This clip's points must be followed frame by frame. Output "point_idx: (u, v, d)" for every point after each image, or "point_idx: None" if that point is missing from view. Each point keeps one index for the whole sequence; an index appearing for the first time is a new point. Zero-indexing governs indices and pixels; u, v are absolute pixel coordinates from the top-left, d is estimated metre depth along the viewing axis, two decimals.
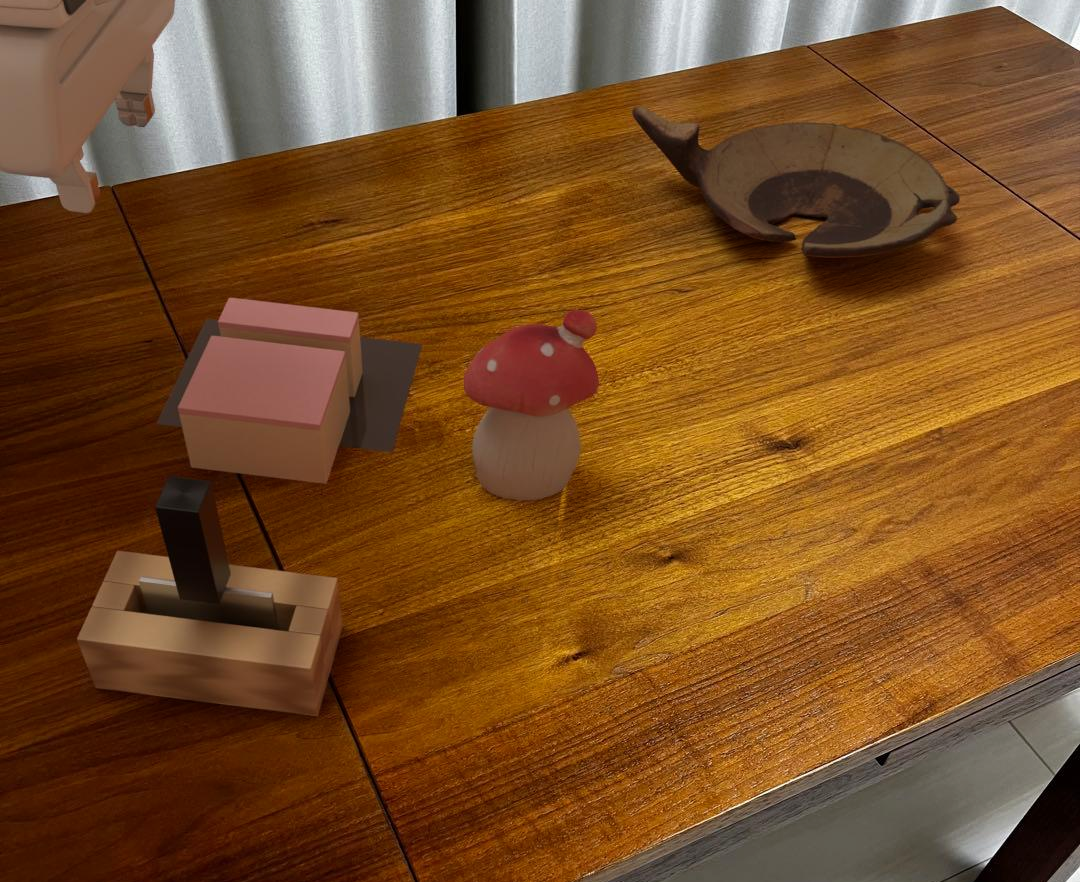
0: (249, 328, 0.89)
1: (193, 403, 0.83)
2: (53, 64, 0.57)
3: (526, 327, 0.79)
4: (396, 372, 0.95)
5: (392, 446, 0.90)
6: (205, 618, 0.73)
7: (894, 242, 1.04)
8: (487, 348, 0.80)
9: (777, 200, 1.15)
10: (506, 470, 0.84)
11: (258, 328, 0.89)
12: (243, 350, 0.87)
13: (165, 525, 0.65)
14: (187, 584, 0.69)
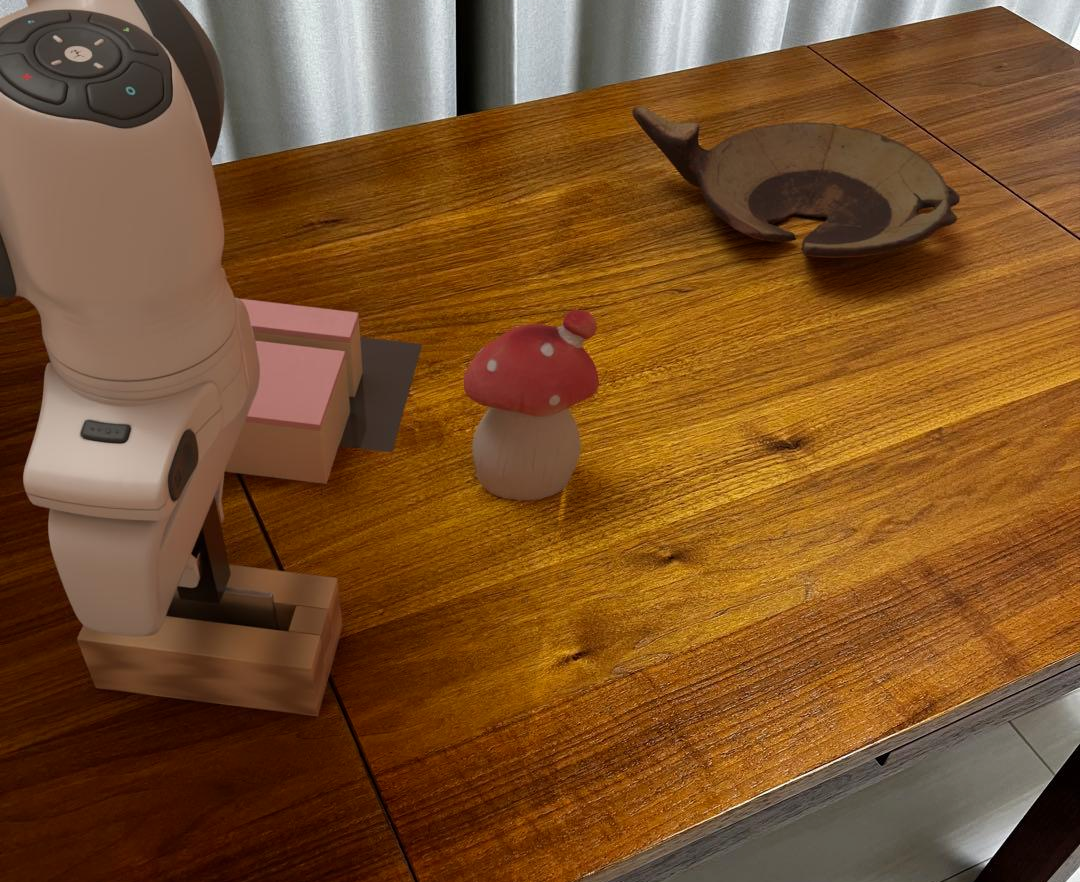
0: None
1: None
2: (156, 549, 0.55)
3: (526, 327, 0.79)
4: (396, 372, 0.95)
5: (392, 446, 0.90)
6: (205, 618, 0.73)
7: (894, 242, 1.04)
8: (487, 348, 0.80)
9: (777, 200, 1.15)
10: (506, 470, 0.84)
11: (258, 328, 0.89)
12: None
13: None
14: None
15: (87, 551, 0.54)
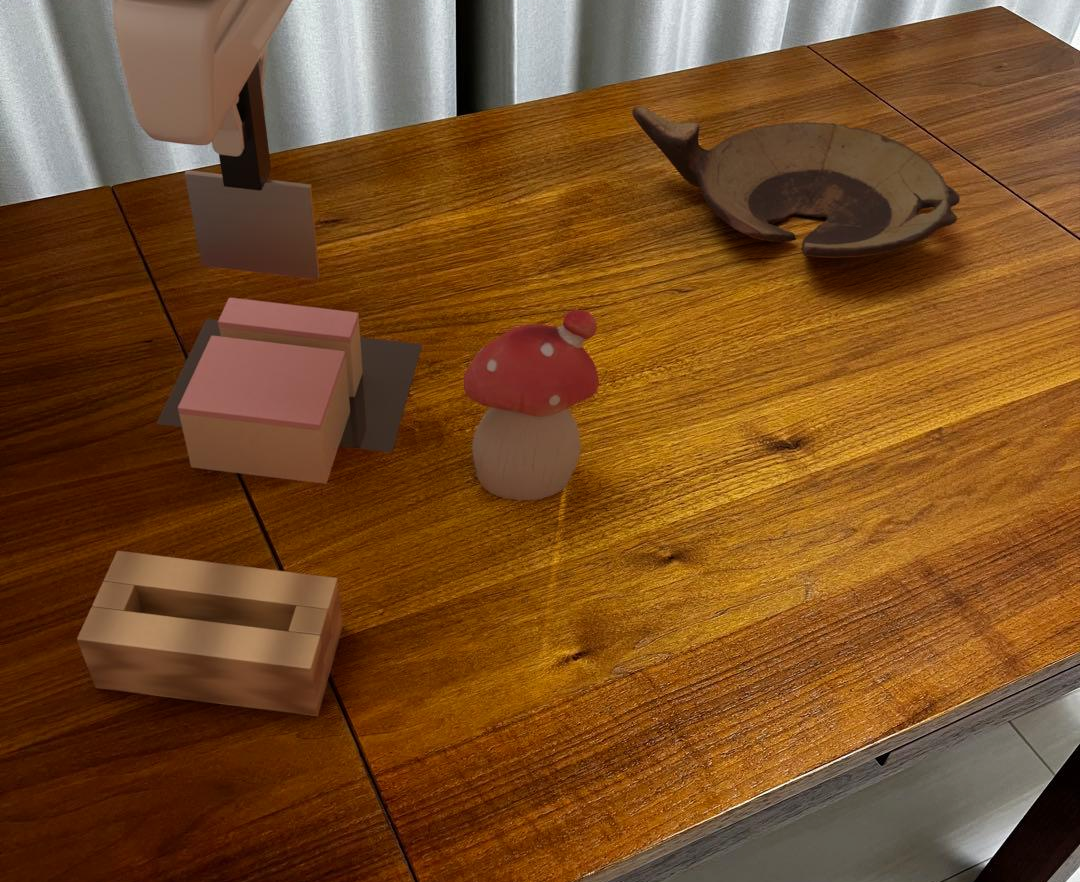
0: (249, 328, 0.89)
1: (193, 403, 0.83)
2: (213, 33, 0.59)
3: (526, 327, 0.79)
4: (396, 372, 0.95)
5: (392, 446, 0.90)
6: (246, 219, 0.77)
7: (894, 242, 1.04)
8: (487, 348, 0.80)
9: (777, 200, 1.15)
10: (506, 470, 0.84)
11: (258, 328, 0.89)
12: (243, 350, 0.87)
13: None
14: (232, 165, 0.73)
15: (148, 29, 0.58)
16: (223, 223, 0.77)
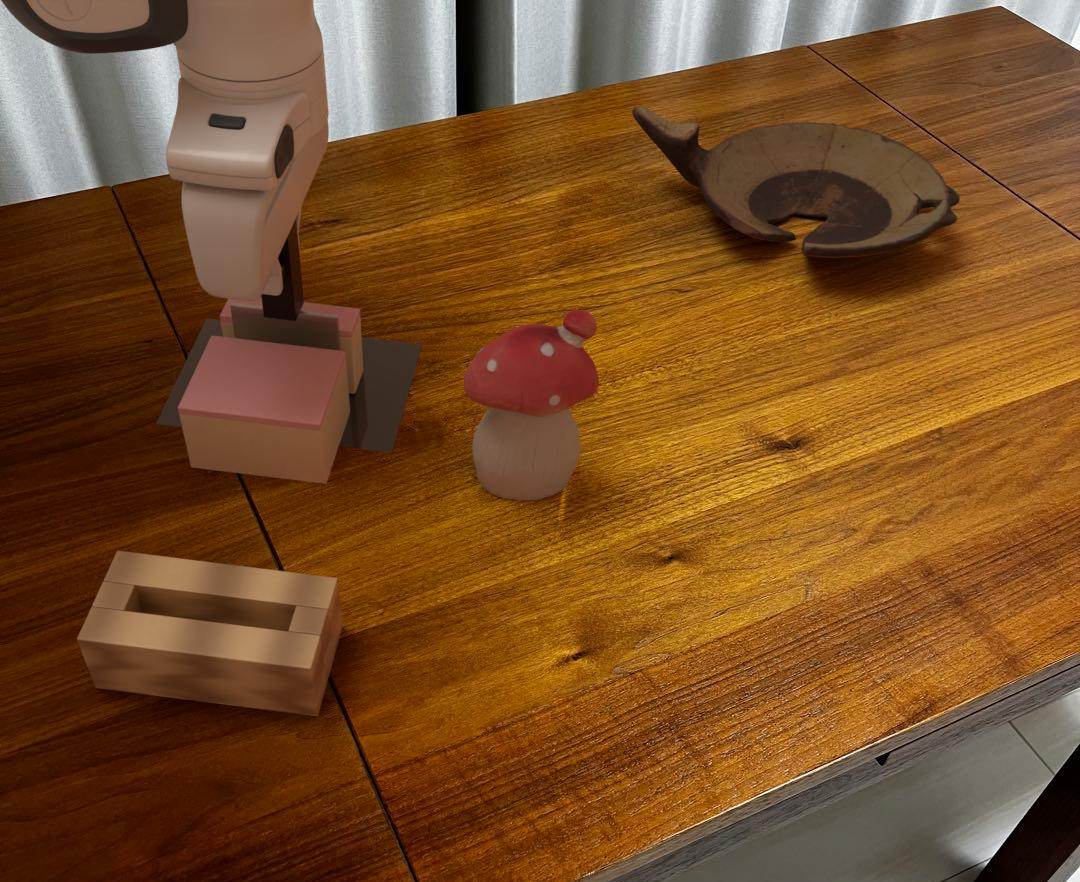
0: None
1: (193, 403, 0.83)
2: (263, 217, 0.72)
3: (526, 327, 0.79)
4: (396, 372, 0.95)
5: (392, 446, 0.90)
6: (281, 342, 0.90)
7: (894, 242, 1.04)
8: (487, 348, 0.80)
9: (777, 200, 1.15)
10: (506, 470, 0.84)
11: None
12: (243, 350, 0.87)
13: None
14: (271, 300, 0.86)
15: (211, 216, 0.71)
16: None
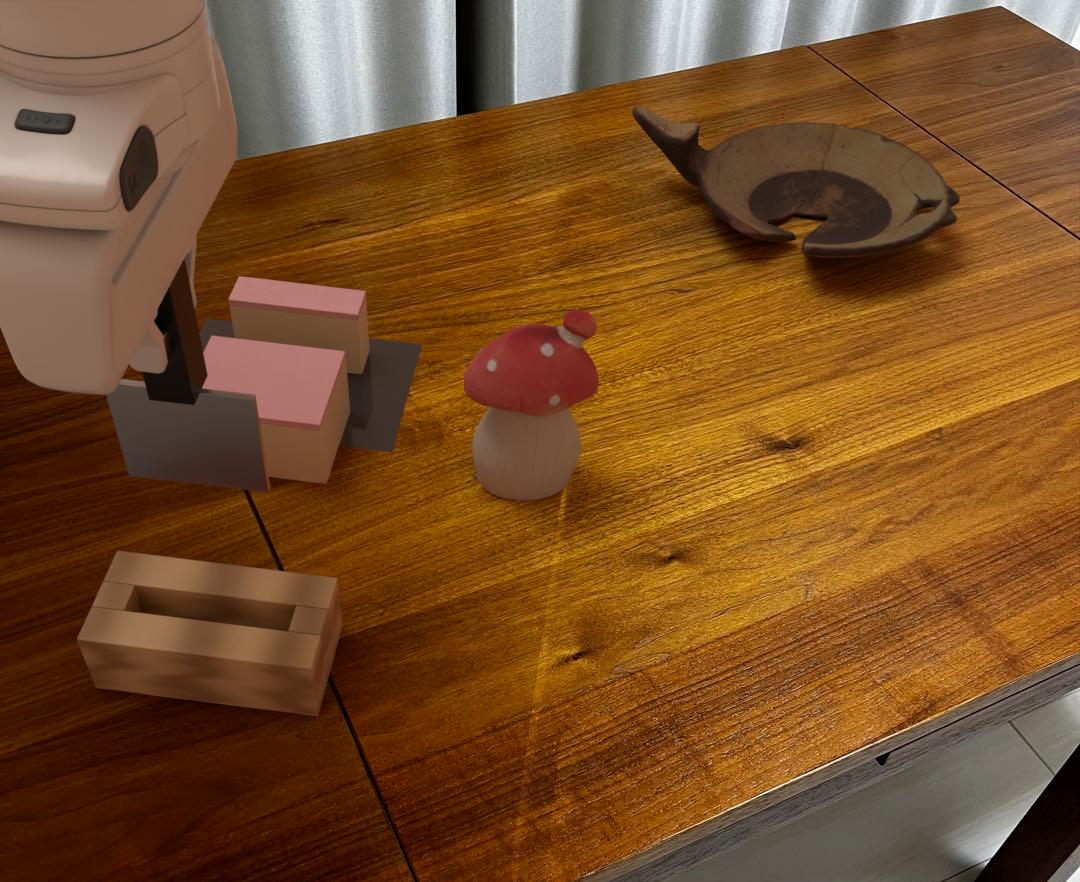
0: (259, 306, 0.91)
1: None
2: (108, 271, 0.46)
3: (526, 327, 0.79)
4: (396, 372, 0.95)
5: (392, 446, 0.90)
6: (179, 430, 0.64)
7: (894, 242, 1.04)
8: (487, 348, 0.80)
9: (777, 200, 1.15)
10: (506, 470, 0.84)
11: (268, 306, 0.91)
12: (243, 350, 0.87)
13: None
14: (157, 379, 0.60)
15: (24, 270, 0.45)
16: (152, 434, 0.64)
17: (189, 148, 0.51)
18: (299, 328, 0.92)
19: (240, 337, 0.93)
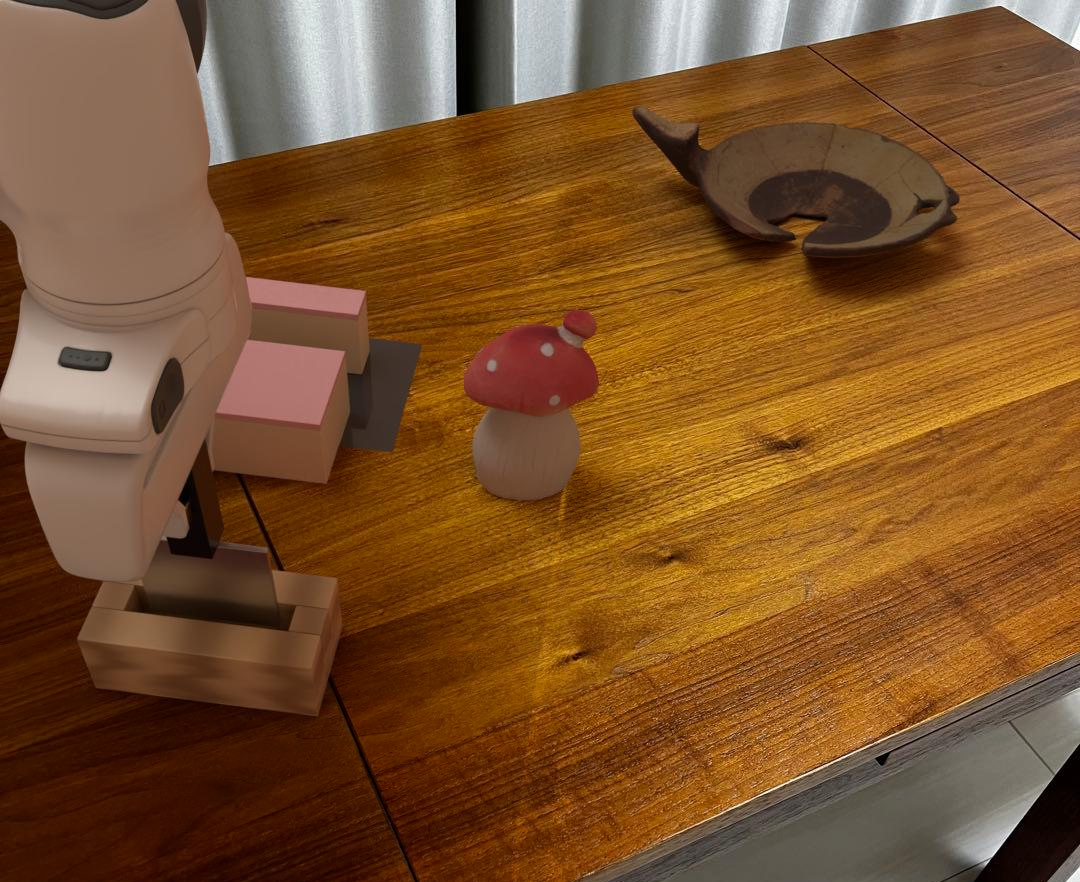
0: (259, 306, 0.91)
1: None
2: (140, 485, 0.52)
3: (526, 327, 0.79)
4: (396, 372, 0.95)
5: (392, 446, 0.90)
6: (198, 575, 0.70)
7: (894, 242, 1.04)
8: (487, 348, 0.80)
9: (777, 200, 1.15)
10: (506, 470, 0.84)
11: (268, 306, 0.91)
12: (243, 350, 0.87)
13: None
14: (179, 538, 0.66)
15: (65, 487, 0.51)
16: (173, 578, 0.70)
17: None
18: (299, 328, 0.92)
19: None
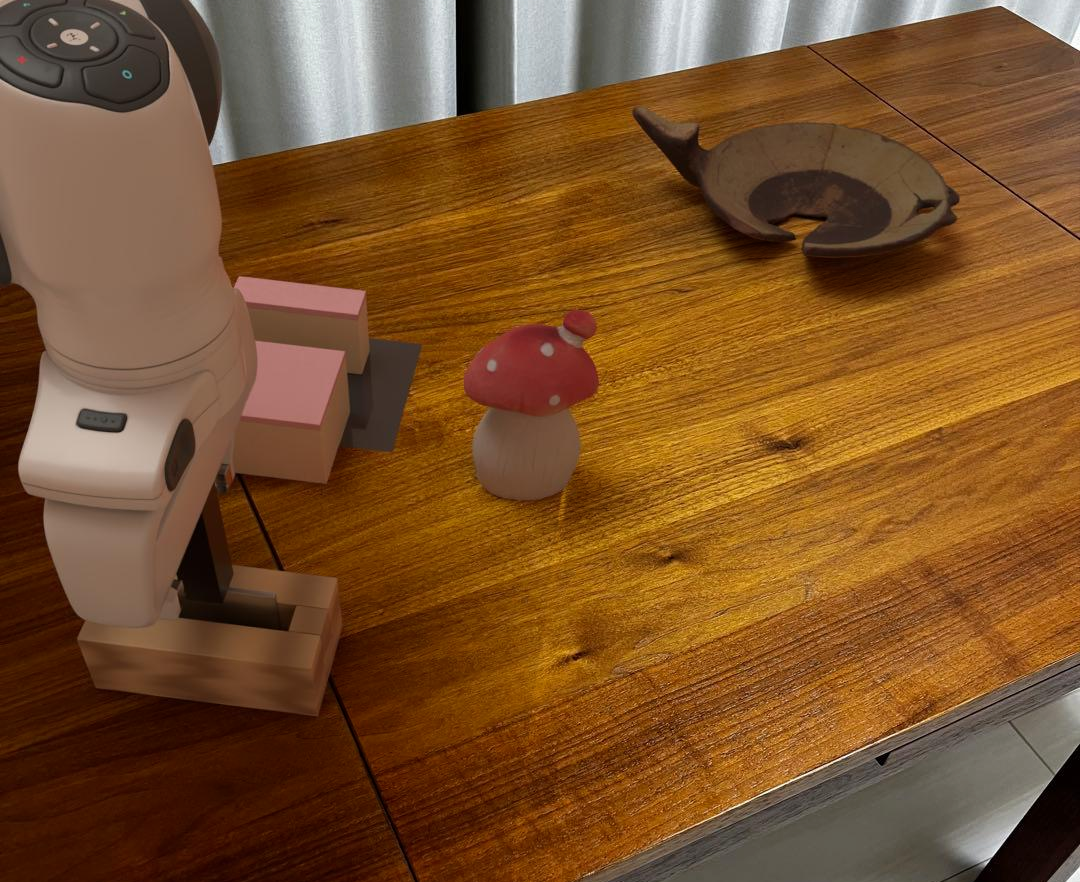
0: (259, 306, 0.91)
1: None
2: (153, 540, 0.54)
3: (526, 327, 0.79)
4: (396, 372, 0.95)
5: (392, 446, 0.90)
6: (208, 617, 0.73)
7: (894, 242, 1.04)
8: (487, 348, 0.80)
9: (777, 200, 1.15)
10: (506, 470, 0.84)
11: (268, 306, 0.91)
12: None
13: None
14: (191, 584, 0.69)
15: (82, 541, 0.54)
16: None
17: None
18: (299, 328, 0.92)
19: None
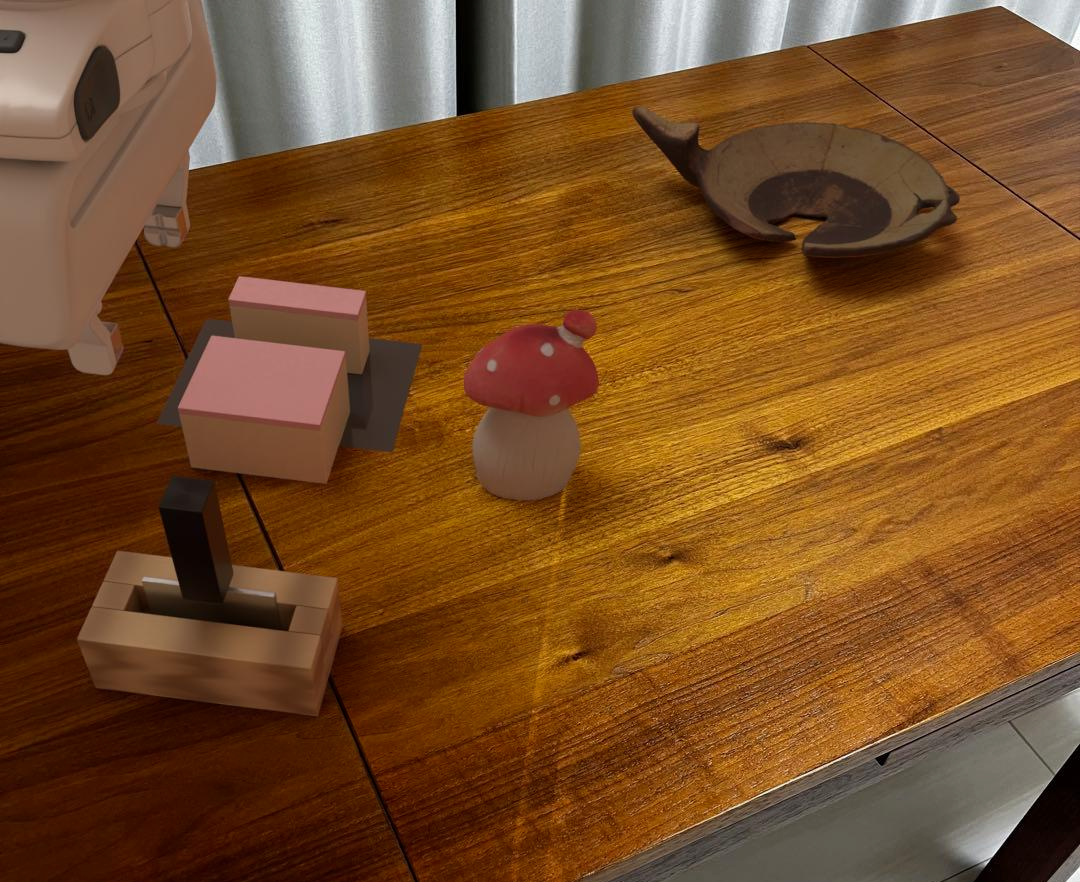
0: (259, 306, 0.91)
1: (193, 403, 0.83)
2: (63, 208, 0.41)
3: (526, 327, 0.79)
4: (396, 372, 0.95)
5: (392, 446, 0.90)
6: (208, 617, 0.73)
7: (894, 242, 1.04)
8: (487, 348, 0.80)
9: (777, 200, 1.15)
10: (506, 470, 0.84)
11: (268, 306, 0.91)
12: (243, 350, 0.87)
13: (168, 525, 0.65)
14: (191, 584, 0.69)
15: None
16: None
17: (158, 80, 0.46)
18: (299, 328, 0.92)
19: (240, 337, 0.93)
